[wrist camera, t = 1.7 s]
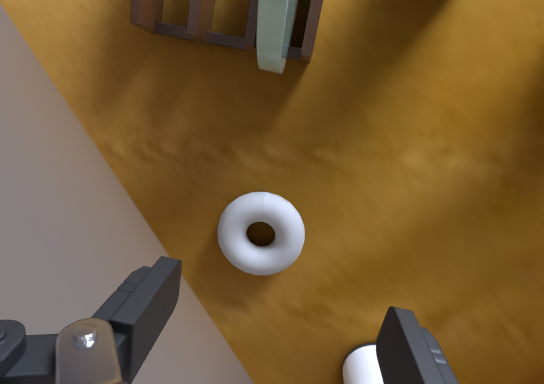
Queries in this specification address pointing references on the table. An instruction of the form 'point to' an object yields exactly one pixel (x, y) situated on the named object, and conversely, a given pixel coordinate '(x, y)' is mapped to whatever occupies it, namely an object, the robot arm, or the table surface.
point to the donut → (270, 212)
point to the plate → (274, 33)
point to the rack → (199, 30)
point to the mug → (362, 366)
